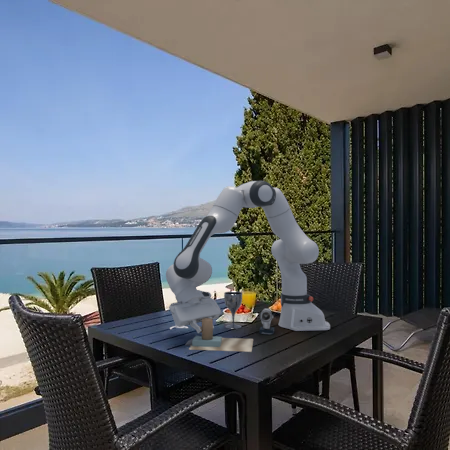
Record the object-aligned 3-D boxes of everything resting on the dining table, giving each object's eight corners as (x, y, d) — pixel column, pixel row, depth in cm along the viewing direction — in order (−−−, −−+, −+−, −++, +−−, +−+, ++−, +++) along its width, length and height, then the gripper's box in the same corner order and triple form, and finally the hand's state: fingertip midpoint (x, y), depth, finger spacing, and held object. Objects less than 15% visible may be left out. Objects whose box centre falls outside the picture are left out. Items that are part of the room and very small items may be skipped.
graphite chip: (195, 340, 142) (193, 338, 142) (192, 344, 137) (191, 342, 137) (185, 345, 143) (184, 342, 143) (183, 349, 138) (181, 346, 138)
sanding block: (221, 341, 142) (221, 317, 142) (220, 346, 136) (219, 321, 136) (195, 341, 142) (195, 317, 143) (192, 346, 137) (192, 321, 137)
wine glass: (232, 330, 163) (232, 295, 163) (220, 326, 169) (220, 292, 169) (246, 327, 168) (245, 293, 168) (234, 323, 174) (234, 290, 174)
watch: (258, 338, 151) (258, 310, 151) (261, 333, 159) (261, 306, 159) (273, 339, 149) (272, 311, 150) (274, 333, 157) (274, 307, 157)
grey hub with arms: (184, 332, 161) (184, 322, 161) (166, 331, 163) (166, 322, 163) (190, 327, 170) (190, 318, 170) (173, 326, 171) (173, 317, 171)
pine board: (253, 342, 145) (253, 338, 145) (251, 356, 130) (251, 351, 130) (196, 340, 148) (196, 337, 148) (188, 353, 133) (188, 349, 133)
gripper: (170, 298, 138) (187, 331, 131) (213, 292, 152) (230, 320, 145) (163, 309, 141) (179, 341, 134) (206, 301, 155) (222, 330, 148)
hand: (206, 330), depth 139 cm, fingers closed on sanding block, 4 cm apart
